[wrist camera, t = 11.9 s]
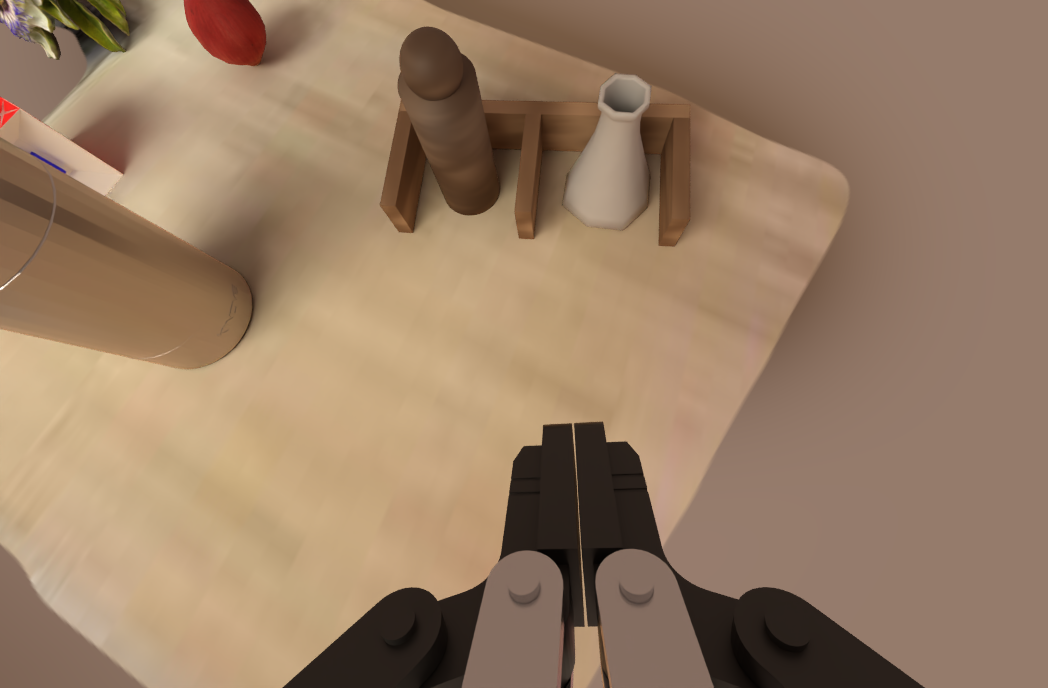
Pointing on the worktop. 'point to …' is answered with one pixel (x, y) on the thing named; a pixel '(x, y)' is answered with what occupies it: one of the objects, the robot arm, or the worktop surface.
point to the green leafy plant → (62, 21)
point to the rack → (533, 133)
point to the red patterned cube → (55, 149)
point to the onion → (228, 29)
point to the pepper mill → (449, 119)
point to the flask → (612, 159)
